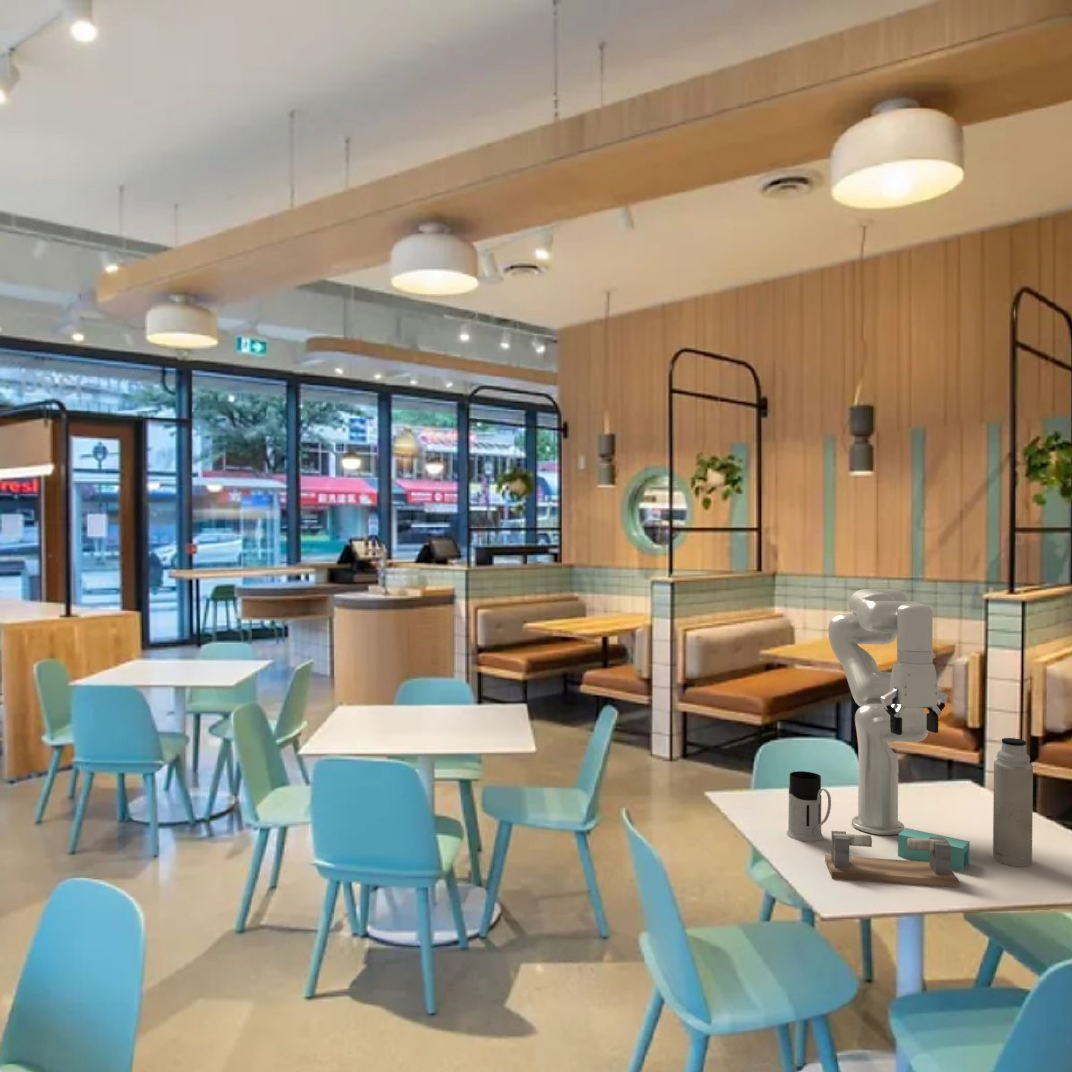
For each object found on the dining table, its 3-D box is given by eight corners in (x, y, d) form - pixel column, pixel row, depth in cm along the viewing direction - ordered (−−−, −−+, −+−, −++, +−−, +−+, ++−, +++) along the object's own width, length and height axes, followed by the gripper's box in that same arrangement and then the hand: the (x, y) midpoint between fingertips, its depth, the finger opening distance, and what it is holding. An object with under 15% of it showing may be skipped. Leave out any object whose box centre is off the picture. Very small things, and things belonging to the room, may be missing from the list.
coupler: (906, 849, 211) (906, 827, 211) (969, 864, 202) (969, 841, 202) (897, 856, 207) (898, 834, 207) (962, 871, 198) (962, 848, 198)
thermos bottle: (986, 853, 208) (987, 735, 208) (1019, 853, 209) (1020, 735, 208) (1005, 866, 200) (1006, 743, 200) (1039, 866, 201) (1040, 743, 201)
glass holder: (808, 827, 226) (809, 769, 226) (844, 846, 213) (845, 784, 212) (779, 831, 223) (779, 772, 223) (814, 850, 210) (814, 787, 210)
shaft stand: (824, 861, 203) (825, 825, 203) (945, 869, 199) (945, 833, 199) (831, 878, 193) (832, 840, 193) (958, 887, 189) (959, 848, 189)
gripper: (935, 655, 209) (935, 727, 209) (871, 657, 204) (871, 731, 204) (958, 659, 202) (957, 734, 202) (892, 661, 197) (892, 738, 197)
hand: (914, 732), depth 203 cm, fingers open, 9 cm apart
